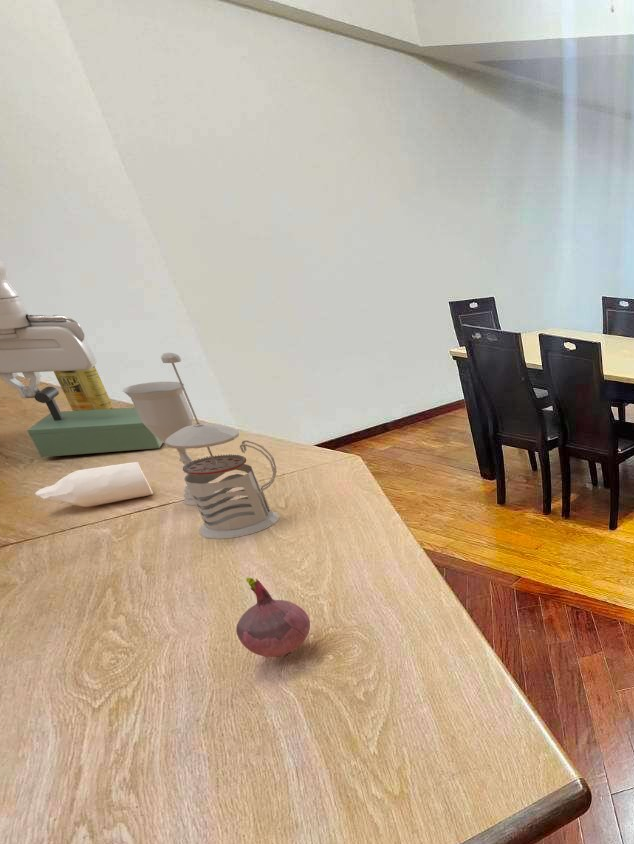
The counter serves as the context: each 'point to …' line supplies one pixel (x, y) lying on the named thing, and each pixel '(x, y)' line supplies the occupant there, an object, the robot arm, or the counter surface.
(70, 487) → the white bottle
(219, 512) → the french press
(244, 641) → the vegetable
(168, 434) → the chalice
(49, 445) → the green wedge with knob
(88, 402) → the sauce bottle
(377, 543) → the counter surface
